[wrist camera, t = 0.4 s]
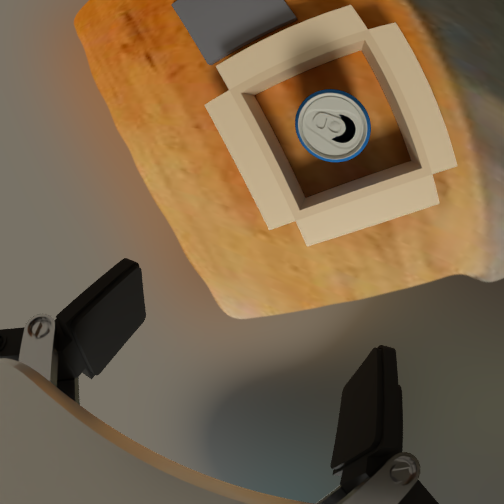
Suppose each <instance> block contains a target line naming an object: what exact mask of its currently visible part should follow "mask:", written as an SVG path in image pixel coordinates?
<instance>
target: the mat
mask: <svg viewBox="0 0 504 504" xmlns="http://www.w3.org/2000/svg"><path fill="white" fill-rule="evenodd" d="M172 7H173V8H174V10H175V11H176V13H177V14H178V16H179V17H180V19H181V21H182V22H183V24H184V25H185V27H186V29H187V30H188V32H189V33H190V35H191V37H192V38H193V40H194V42H195V43H196V45H197V47H198V48H199V50H200V52H201V53H202V55H203V57H204V58H205V60H206V62H207V63H208V64H209V65H212V64H214V63H216V62H217V61H219V60H220V59H222V58H224V57H225V56H227V55H229V54H230V53H232V52H234V51H236V50H237V49H239V48H241V47H243V46H245V45H246V44H248V43H250V42H252V41H254V40H256V39H258V38H260V37H262V36H264V35H266V34H268V33H270V32H272V31H274V30H276V29H278V28H280V27H283V26H285V25H287V24H289V23H292V22H294V21H296V20H297V18H296V16H295V15H294V13H293V12H292V11H291V9H290V8H289V7H288V5H287V4H286V3H285V1H284V0H177V1H176V2H174V3H173V4H172Z"/></svg>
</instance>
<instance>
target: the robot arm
mask: <svg viewBox="0 0 504 504" xmlns="http://www.w3.org/2000/svg"><path fill="white" fill-rule="evenodd" d="M145 317H146V312H145V304H144V294H143V283H142V272H141V268H139V264H138V263H136V262H134V261H132V260H129V259H127V258H124V259H123V260H121V261H120V262H119V263H117V264H116V265H115V266H114V267H113V268H111V269H110V270H109V271H108V272H106V273H105V274H104V275H103V276H102V277H100V278H99V279H98V280H97V281H96V282H94V283H93V284H92V285H91V286H90V287H89V288H87V289H86V290H85V291H84V292H83V293H82V294H80V295H79V296H78V297H77V298H76V299H75V300H73V301H72V302H71V303H70V304H69V305H68V306H67V307H66V308H64V309H63V310H62V311H61V312H60V313H59V314H58V315H57V316H56V318H57V319H56V320H55V321H54V319H53V318H52V317H51V316H50V315H47V314H38V315H35V316H33V317H32V318H31V319H29V320H28V322H27V323H26V325H25V327H24V328H15V329H3V330H0V504H312V503H306V502H300V501H295V500H290V499H285V498H281V497H276V496H272V495H268V494H264V493H260V492H256V491H252V490H249V489H245V488H242V487H239V486H235V485H232V484H229V483H226V482H223V481H220V480H217V479H215V478H212V477H209V476H206V475H204V474H202V473H199V472H197V471H194V470H192V469H189V468H187V467H184V466H183V465H180V464H178V463H176V462H174V461H171V460H169V459H167V458H165V457H163V456H161V455H159V454H157V453H155V452H153V451H151V450H150V449H148V448H146V447H144V446H142V445H140V444H138V443H137V442H135V441H133V440H132V439H130V438H128V437H126V436H125V435H123V434H121V433H120V432H118V431H117V430H115V429H113V428H112V427H110V426H109V425H107V424H105V423H104V422H103V421H101V420H100V419H98V418H97V417H95V416H94V415H92V414H91V413H90V412H88V411H87V410H86V409H84V408H83V407H81V406H80V399H79V375H80V374H81V373H84V374H85V375H86V376H88V377H89V378H91V379H92V378H93V377H94V376H95V375H99V374H100V373H101V372H102V370H103V369H104V368H105V367H106V365H107V364H108V363H109V362H110V361H111V360H112V358H113V357H114V356H115V355H116V354H117V352H118V351H119V350H120V349H121V348H122V346H123V345H124V344H125V343H126V342H127V340H128V339H129V338H130V337H131V336H132V335H133V333H134V332H135V331H136V330H137V329H138V328H139V326H140V325H141V324H142V323H143V322H144V320H145ZM402 442H403V410H402V390H401V387H400V385H398V374H397V361H396V351H395V349H394V348H391V347H387V346H383V345H380V346H379V347H378V348H373V350H372V351H371V352H370V354H369V355H368V357H367V358H366V359H365V361H364V362H363V363H362V365H361V366H360V367H359V369H358V370H357V371H356V373H355V374H354V375H353V376H352V378H351V379H350V380H349V382H348V383H347V384H346V385H345V387H344V389H343V392H342V398H341V407H340V413H339V420H338V427H337V433H336V439H335V445H334V451H333V456H332V461H331V468H332V469H334V471H333V475H337V476H342V477H341V482H340V486H338V487H337V488H336V489H334V490H333V491H332V492H331V493H329V494H328V495H327V496H325V497H324V498H323V499H321V500H320V501H318V502H317V503H316V504H439V503H438V502H437V501H436V500H435V499H434V498H433V496H432V495H431V494H430V493H429V492H428V491H427V489H426V488H425V487H424V486H423V485H422V484H421V482H420V481H419V480H418V478H419V475H420V464H419V462H418V460H417V458H416V457H415V456H414V455H412V454H410V453H407V452H402Z"/></svg>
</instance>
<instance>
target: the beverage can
mask: <svg viewBox="0 0 504 504" xmlns="http://www.w3.org/2000/svg"><path fill="white" fill-rule="evenodd" d="M295 127H296V133H297V136H298V138H299V140H300V142H301V144H302V145H303V146H304V148H305V149H306V150H307V151H308V152H309V153H311V154H312V155H313V156H315V157H317V158H319V159H321V160H324V161H328V162H343V161H347V160H350V159H352V158H354V157H356V156H357V155H358V154H359V153H361V152H362V150H363V149H364V148H365V146H366V145H367V143H368V140H369V137H370V132H371V124H370V119H369V116H368V113H367V111H366V109H365V108H364V106H363V105H362V104H361V103H360V102H359V101H358V100H357V99H356V98H355V97H353V96H352V95H350V94H348V93H346V92H344V91H340V90H335V89H326V90H321V91H317V92H315V93H313V94H311V95H310V96H308V97H307V98H306V99H305V100H304V101H303V102H302V104H301V105H300V107H299V109H298V111H297V114H296V119H295Z"/></svg>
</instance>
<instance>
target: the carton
mask: <svg viewBox="0 0 504 504" xmlns="http://www.w3.org/2000/svg"><path fill="white" fill-rule="evenodd" d="M360 50H362V52H363V54H364V56H365V57H366V59H367V61H368V63H369V65H370V66H371V68H372V70H373V72H374V74H375V76H376V78H377V80H378V82H379V84H380V86H381V88H382V90H383V92H384V94H385V96H386V98H387V100H388V103H389V105H390V107H391V109H392V112H393V114H394V116H395V119H396V121H397V123H398V126H399V128H400V131H401V134H402V136H403V139H404V142H405V144H406V147H407V150H408V153H409V156H410V159H411V161H409V162H406V163H403V164H400V165H397V166H394V167H391V168H388V169H385V170H382V171H379V172H376V173H373V174H371V175H368V176H365V177H362V178H359V179H356V180H353V181H351V182H348V183H345V184H342V185H339V186H337V187H334V188H331V189H328V190H326V191H323V192H320V193H318V194H315V195H312V196H309V197H307V198H305V196H304V194H303V192H302V190H301V187H300V185H299V183H298V181H297V179H296V177H295V175H294V172H293V170H292V168H291V166H290V164H289V162H288V160H287V158H286V156H285V154H284V152H283V150H282V148H281V146H280V144H279V142H278V140H277V138H276V136H275V134H274V132H273V130H272V128H271V126H270V124H269V122H268V120H267V118H266V117H265V115H264V113H263V111H262V109H261V107H260V105H259V104H258V102H257V100H256V98H255V96H254V95H256V94H258V93H260V92H262V91H264V90H266V89H268V88H270V87H272V86H274V85H276V84H278V83H280V82H282V81H285V80H287V79H289V78H291V77H293V76H295V75H298V74H300V73H302V72H305V71H307V70H309V69H312V68H314V67H317V66H319V65H322V64H324V63H327V62H329V61H332V60H335V59H337V58H340V57H343V56H346V55H348V54H351V53H354V52H357V51H360ZM216 68H217V70H218V71H219V73H220V75H221V76H222V78H223V80H224V82H225V84H226V85H227V87H228V89H229V90H228V91H227V92H225V93H223V94H222V95H220V96H218V97H217V98H215V99H213V100H212V101H210V102H209V103H207V104H205V107H206V109H207V111H208V113H209V114H210V116H211V118H212V120H213V122H214V124H215V126H216V127H217V129H218V131H219V133H220V135H221V137H222V139H223V141H224V142H225V144H226V146H227V148H228V150H229V152H230V154H231V156H232V158H233V160H234V162H235V163H236V165H237V167H238V169H239V171H240V173H241V175H242V177H243V179H244V181H245V183H246V185H247V187H248V189H249V191H250V193H251V195H252V197H253V199H254V200H255V202H256V204H257V206H258V208H259V210H260V212H261V214H262V216H263V218H264V220H265V222H266V224H267V226H268V228H269V230H272V229H274V228H277V227H280V226H283V225H286V224H288V223H291V222H294V221H296V223H297V225H298V227H299V229H300V232H301V234H302V236H303V238H304V241H305V243H306V245H307V246H310V245H314V244H317V243H320V242H323V241H326V240H329V239H333V238H336V237H339V236H342V235H345V234H348V233H351V232H354V231H357V230H361V229H364V228H367V227H370V226H373V225H376V224H379V223H382V222H385V221H388V220H391V219H394V218H397V217H401V216H404V215H407V214H410V213H413V212H416V211H419V210H422V209H425V208H428V207H431V206H434V205H437V204H440V203H439V199H438V195H437V190H436V186H435V183H434V179H433V175H432V174H435V173H438V172H441V171H444V170H447V169H450V168H453V167H456V166H457V163H456V159H455V155H454V152H453V148H452V145H451V141H450V138H449V135H448V132H447V129H446V126H445V123H444V120H443V118H442V115H441V112H440V110H439V107H438V104H437V102H436V100H435V97H434V95H433V92H432V90H431V88H430V85H429V83H428V81H427V79H426V77H425V75H424V73H423V70H422V68H421V66H420V64H419V62H418V61H417V59H416V57H415V55H414V53H413V51H412V49H411V47H410V46H409V44H408V42H407V40H406V39H405V37H404V35H403V34H402V32H401V30H400V29H399V27H398V26H397V24H396V22H395V23H391V24H387V25H383V26H379V27H375V28H372V29H367V27H366V26H365V24H364V23H363V21H362V20H361V18H360V17H359V15H358V14H357V12H356V11H355V10H354V8H353V7H352V6H351V5H349V6H346V7H342V8H339V9H336V10H333V11H330V12H327V13H324V14H322V15H319V16H316V17H313V18H311V19H308V20H306V21H303V22H301V23H298V24H296V25H294V26H291V27H289V28H287V29H285V30H282V31H280V32H278V33H276V34H274V35H272V36H270V37H268V38H266V39H264V40H262V41H260V42H258V43H256V44H254V45H252V46H250V47H248V48H246V49H245V50H243V51H241V52H239V53H237V54H236V55H234V56H232V57H230V58H229V59H227V60H225V61H224V62H222V63H220V64H219V65H217V66H216Z"/></svg>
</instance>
